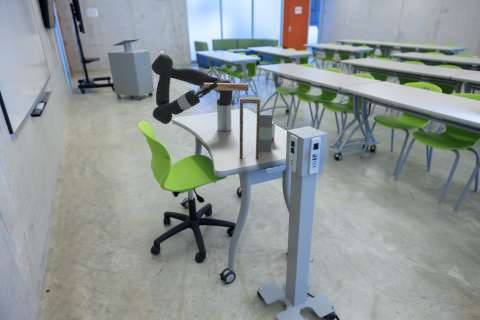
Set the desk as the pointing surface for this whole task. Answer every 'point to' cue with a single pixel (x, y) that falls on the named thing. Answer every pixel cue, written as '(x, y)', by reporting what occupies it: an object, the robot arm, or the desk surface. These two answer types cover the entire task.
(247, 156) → the desk surface
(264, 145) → the block tower
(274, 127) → the ink box
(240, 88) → the terracotta bar
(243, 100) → the walnut stand
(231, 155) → the desk surface
